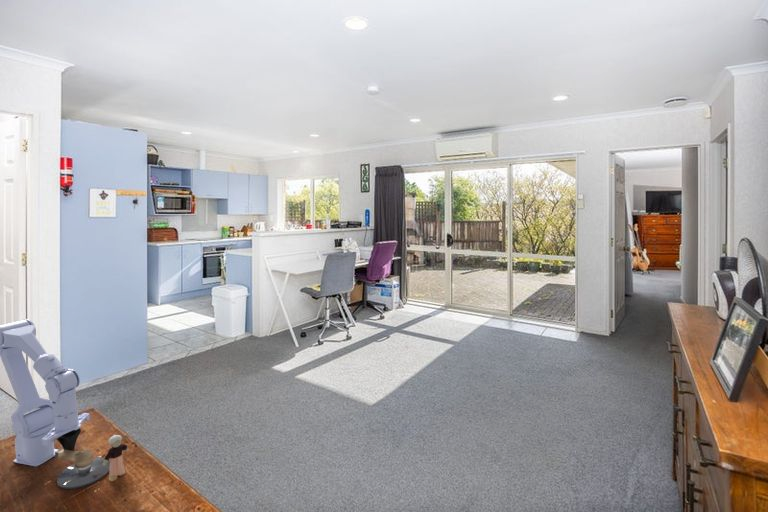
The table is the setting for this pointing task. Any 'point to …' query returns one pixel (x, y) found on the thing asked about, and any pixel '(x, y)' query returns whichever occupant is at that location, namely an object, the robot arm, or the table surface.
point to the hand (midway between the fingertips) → (69, 453)
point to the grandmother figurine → (115, 457)
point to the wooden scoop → (76, 457)
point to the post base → (83, 474)
